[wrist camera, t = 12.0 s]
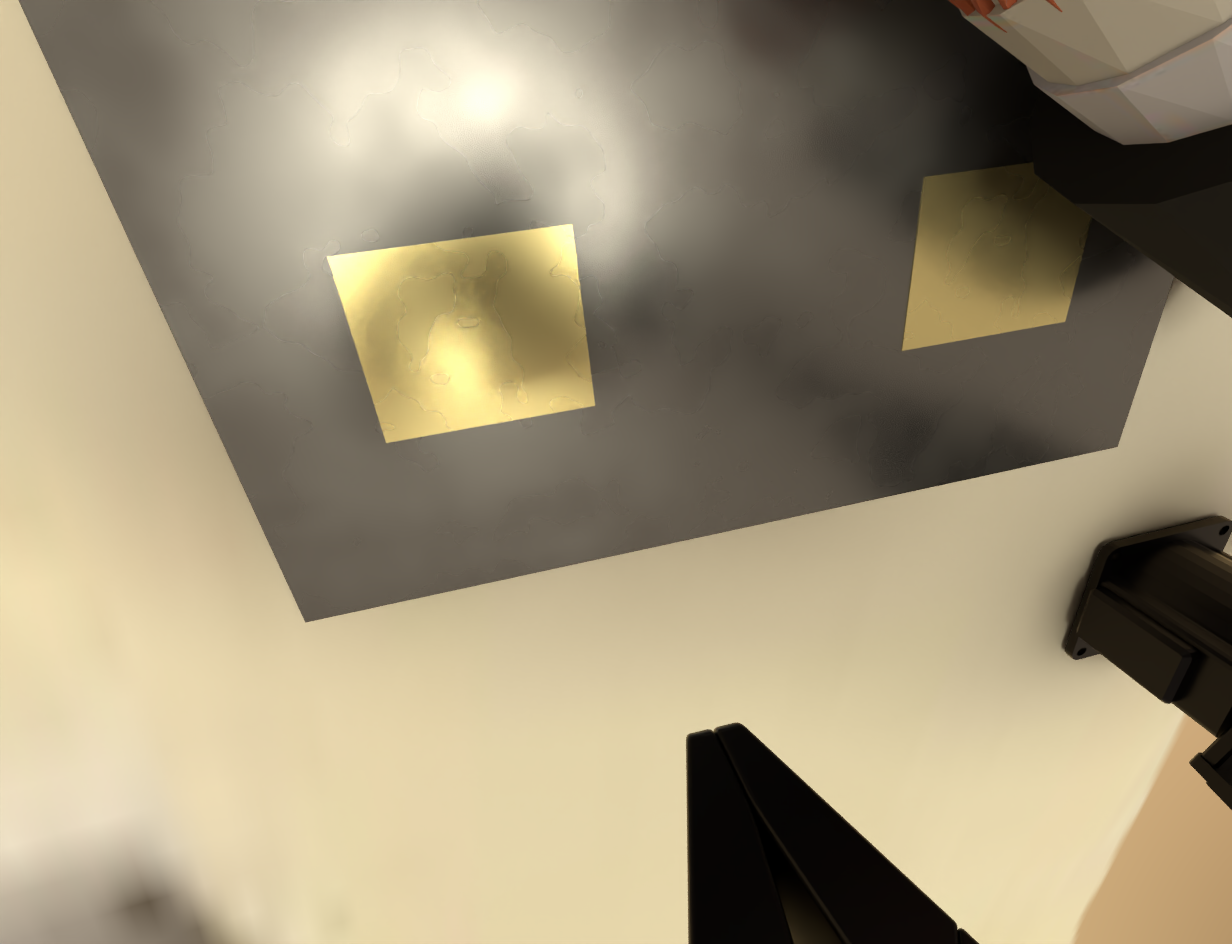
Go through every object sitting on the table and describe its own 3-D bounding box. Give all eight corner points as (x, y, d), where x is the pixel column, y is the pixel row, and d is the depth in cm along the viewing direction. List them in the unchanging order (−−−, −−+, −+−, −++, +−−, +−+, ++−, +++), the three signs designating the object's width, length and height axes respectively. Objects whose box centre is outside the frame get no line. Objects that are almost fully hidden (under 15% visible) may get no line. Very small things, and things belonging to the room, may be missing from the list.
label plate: (1539, -839, 11) (1551, -850, 11) (1115, 445, 23) (1118, 447, 23) (-517, -1169, 7) (-535, -1194, 6) (306, 620, 19) (305, 623, 19)
